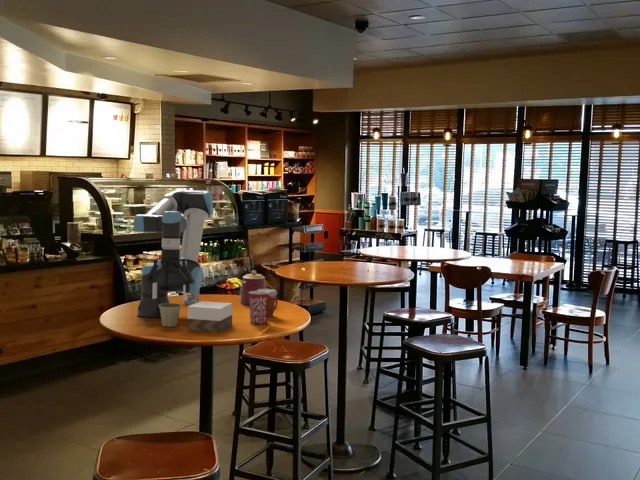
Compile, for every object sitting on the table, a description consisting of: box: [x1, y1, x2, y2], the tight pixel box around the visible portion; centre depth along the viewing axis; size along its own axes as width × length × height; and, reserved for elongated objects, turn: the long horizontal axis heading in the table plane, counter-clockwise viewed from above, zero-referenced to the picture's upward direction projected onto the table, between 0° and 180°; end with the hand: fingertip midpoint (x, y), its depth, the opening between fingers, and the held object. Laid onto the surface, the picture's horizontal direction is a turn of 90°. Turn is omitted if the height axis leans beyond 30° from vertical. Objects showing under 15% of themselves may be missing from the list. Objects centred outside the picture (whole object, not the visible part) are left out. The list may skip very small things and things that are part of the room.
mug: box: [249, 291, 278, 325], centre depth 276 cm, size 13×9×14 cm
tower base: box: [187, 314, 233, 333], centre depth 264 cm, size 14×14×5 cm
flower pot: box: [158, 302, 182, 328], centre depth 265 cm, size 9×9×9 cm
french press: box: [180, 289, 200, 305], centre depth 318 cm, size 10×12×25 cm
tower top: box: [186, 300, 233, 321], centre depth 264 cm, size 14×14×5 cm
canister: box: [239, 269, 267, 306], centre depth 319 cm, size 13×13×18 cm
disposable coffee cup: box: [257, 288, 278, 318], centre depth 292 cm, size 10×10×12 cm
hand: (169, 299), depth 264 cm, fingers open, 13 cm apart
